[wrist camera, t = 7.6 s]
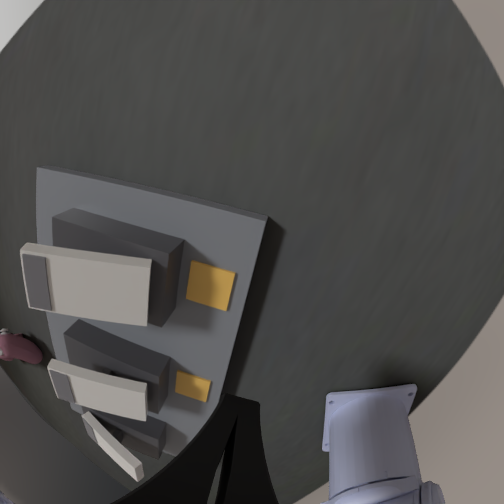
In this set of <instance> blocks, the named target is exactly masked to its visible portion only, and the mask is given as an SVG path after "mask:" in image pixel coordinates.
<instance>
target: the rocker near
mask: <svg viewBox="0 0 504 504" xmlns="http://www.w3.org/2000/svg"><path fill="white" fill-rule="evenodd" d="M20 255H21V264H22V271H23V278H24V284H25V290H26V296H27V301H28V306H29V308H33V309H38V310H43V311H48V312H53V313H58V314H64V315H70V316H76V317H82V318H88V319H94V320H101V321H108V322H115V323H123V324H130V325H139V326H147V321H148V307H149V290H150V276H151V264H152V259H145V258H137V257H129V256H122V255H114V254H106V253H99V252H91V251H84V250H76V249H69V248H62V247H55V246H47V245H40V244H34V243H26V244H25V245H24V246H23V247H22V248H21V249H20Z"/></svg>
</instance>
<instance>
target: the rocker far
mask: <svg viewBox="0 0 504 504" xmlns="http://www.w3.org/2000/svg"><path fill="white" fill-rule="evenodd" d="M82 417H83V421H84V424H85V427H86V430H87V432H88V435H89V436H90V437H91V438H92V439H93V440H94V441H95V442H96V443H97V444H99V446H100V447H101V448H102V449H103V450H104V451H105V452H106V453H107V454H108V455H109V456H110V457H111V458H112V459H113V460H114V461H115V462H116V463H118V464H119V465H120V466H121V467H122V468H123V469H124V470H125V471H126V472H127V473H128V474H129V475H131V476H132V477H133V478H134V479H135V480H136V481H137V482H138V481H139V480H141V479H142V478H143V477H144V473H143V467H142V463H141V462H140V461H139V460H138V459H137V458H136V457H134V456H133V455H132V454H131V453H130V452H129V451H128V450H127V449H126V448H125V447H124V446H122V445H121V444H120V443H119V442H118V441H117V440H116V439H115V438H114V437H113V436H112V435H111V434H110V433H109V432H108V431H107V430H106V429H105V428H104V427H103V426H102V425H101V424H100V423H99V422H98V421H97V419H96V418H95V417H94V416H93V415H92V414H91V413H90V412H89V411H88V412H86V413H85V414H83V415H82Z"/></svg>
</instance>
